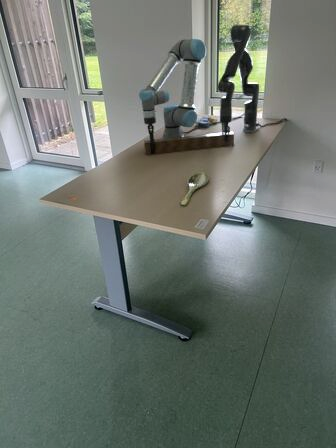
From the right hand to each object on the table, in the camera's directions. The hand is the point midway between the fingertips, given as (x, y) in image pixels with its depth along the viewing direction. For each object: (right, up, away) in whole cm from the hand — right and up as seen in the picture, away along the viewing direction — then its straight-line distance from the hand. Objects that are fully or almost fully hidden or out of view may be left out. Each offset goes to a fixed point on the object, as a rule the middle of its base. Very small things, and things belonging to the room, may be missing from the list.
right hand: (225, 140), depth 223 cm
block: (-24, -6, +1) cm, 25 cm away
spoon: (-26, -39, -53) cm, 71 cm away
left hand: (-49, -8, 0) cm, 49 cm away
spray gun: (-7, +26, +50) cm, 57 cm away
